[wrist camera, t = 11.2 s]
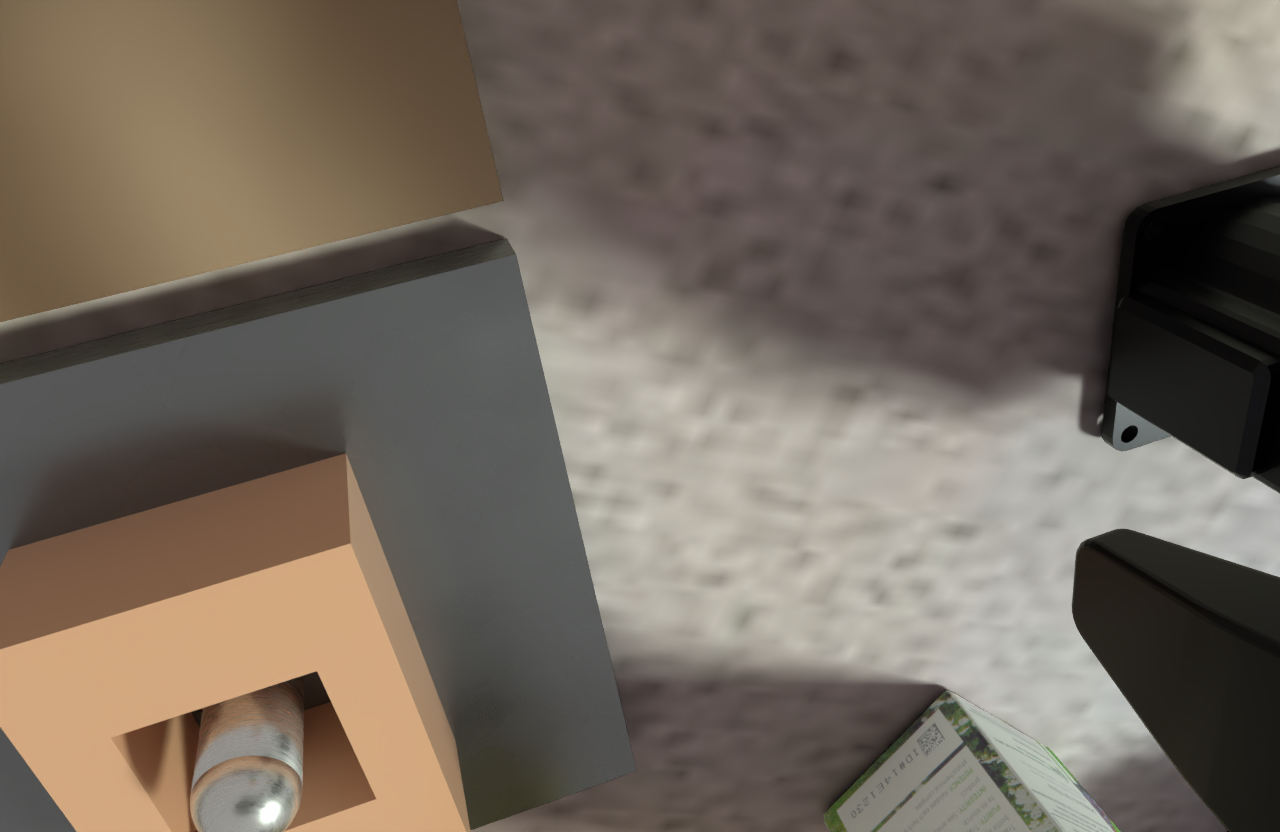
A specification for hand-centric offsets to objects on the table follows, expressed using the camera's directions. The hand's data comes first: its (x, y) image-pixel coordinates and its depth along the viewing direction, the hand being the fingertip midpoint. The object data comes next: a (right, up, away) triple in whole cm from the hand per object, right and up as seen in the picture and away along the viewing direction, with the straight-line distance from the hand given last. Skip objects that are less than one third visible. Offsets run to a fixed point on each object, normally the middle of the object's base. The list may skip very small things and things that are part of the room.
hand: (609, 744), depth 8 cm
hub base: (-8, -2, +12) cm, 15 cm away
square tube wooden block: (-7, -2, +12) cm, 14 cm away
